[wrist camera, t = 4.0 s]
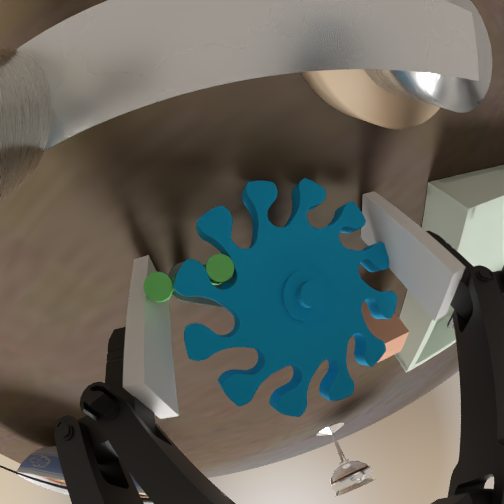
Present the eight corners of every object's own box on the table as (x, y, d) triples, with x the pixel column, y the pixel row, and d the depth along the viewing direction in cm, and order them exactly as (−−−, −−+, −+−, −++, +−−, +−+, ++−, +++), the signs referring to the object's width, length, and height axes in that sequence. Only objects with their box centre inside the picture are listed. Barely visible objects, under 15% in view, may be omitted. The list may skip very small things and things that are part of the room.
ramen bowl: (26, 447, 26) (25, 487, 20) (-5, 395, 17) (-14, 460, 10) (158, 472, 37) (164, 510, 31) (201, 438, 28) (214, 498, 22)
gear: (404, 204, 13) (392, 410, 10) (343, 233, 18) (329, 386, 16) (175, 139, 10) (128, 410, 8) (172, 196, 16) (144, 374, 13)
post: (379, 292, 19) (409, 331, 16) (375, 313, 20) (401, 350, 17) (351, 303, 19) (379, 346, 16) (349, 324, 20) (373, 364, 17)
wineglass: (304, 437, 37) (328, 499, 28) (341, 418, 36) (370, 482, 26) (320, 438, 41) (343, 493, 32) (354, 421, 40) (380, 476, 30)
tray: (534, 158, 16) (557, 173, 13) (496, 281, 27) (511, 298, 24) (428, 182, 14) (468, 208, 12) (389, 346, 25) (405, 372, 22)
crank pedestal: (415, -16, 7) (441, -19, 6) (429, 116, 12) (455, 125, 10) (270, -38, 6) (288, -55, 5) (302, 129, 11) (323, 139, 10)
